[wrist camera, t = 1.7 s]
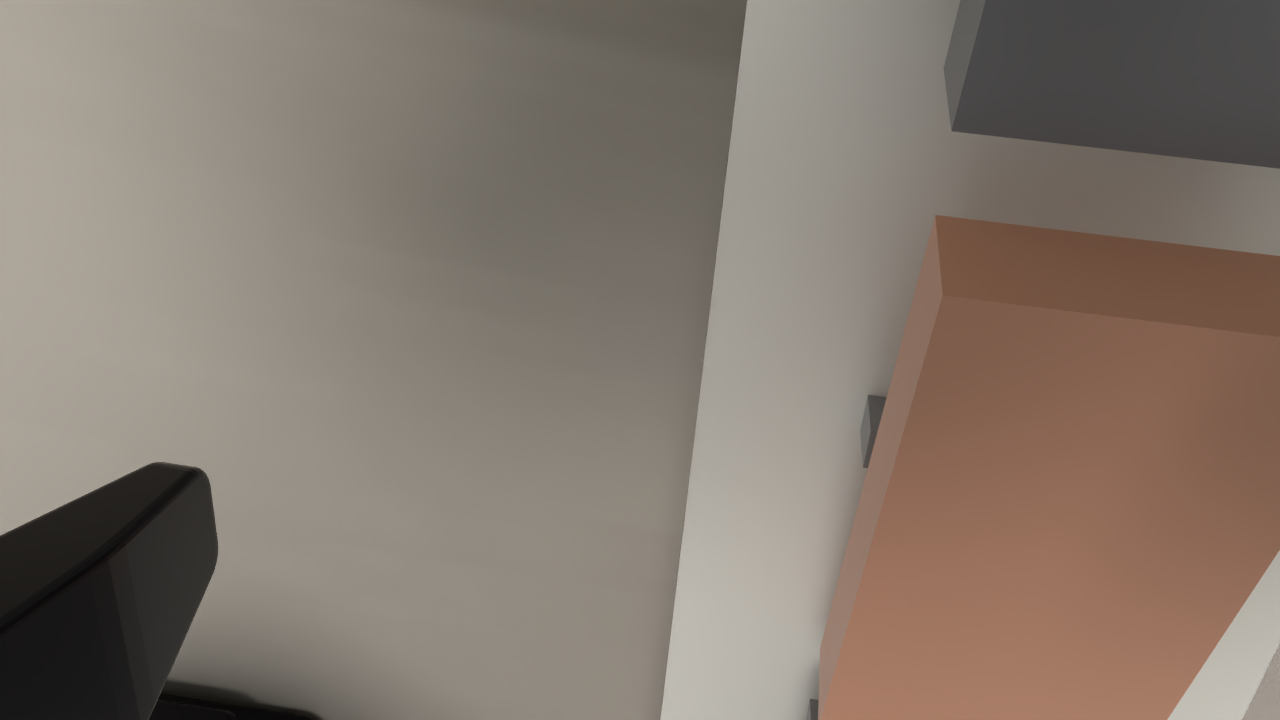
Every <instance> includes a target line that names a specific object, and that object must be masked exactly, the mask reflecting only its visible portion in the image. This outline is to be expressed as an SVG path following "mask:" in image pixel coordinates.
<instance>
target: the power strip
mask: <svg viewBox="0 0 1280 720" xmlns="http://www.w3.org/2000/svg"><path fill="white" fill-rule="evenodd" d="M959 4H960V0H747V7H746V16H745V24H744V32H743V40H742V49H741V57H740V65H739V74H738V82H737V90H736V98H735V107H734V115H733V123H732V132H731V140H730V148H729V156H728V165H727V173H726V181H725V190H724V198H723V206H722V214H721V223H720V231H719V239H718V247H717V256H716V264H715V272H714V281H713V289H712V297H711V305H710V314H709V322H708V330H707V339H706V347H705V355H704V363H703V372H702V380H701V388H700V397H699V405H698V413H697V421H696V430H695V438H694V446H693V455H692V463H691V471H690V479H689V488H688V496H687V504H686V513H685V521H684V529H683V537H682V546H681V554H680V562H679V570H678V579H677V587H676V595H675V604H674V612H673V620H672V628H671V637H670V645H669V653H668V662H667V670H666V678H665V686H664V695H663V703H662V711H661V720H806V717H807V712H808V706H809V701H810V699H816V700H819V665H820V646H821V642H822V638H823V635H824V631H825V627H826V623H827V620H828V616H829V612H830V608H831V605H832V601H833V597H834V593H835V590H836V586H837V582H838V578H839V575H840V571H841V567H842V563H843V560H844V556H845V552H846V548H847V544H848V541H849V537H850V533H851V529H852V526H853V522H854V518H855V514H856V511H857V507H858V503H859V499H860V496H861V492H862V488H863V484H864V481H865V477H866V473H867V469H868V466H869V462H870V458H871V454H872V451H873V447H874V443H875V439H876V435H877V432H878V428H879V424H880V420H881V417H882V413H883V409H884V405H885V402H886V398H887V394H888V390H889V387H890V383H891V379H892V375H893V372H894V368H895V364H896V360H897V357H898V353H899V349H900V345H901V342H902V338H903V334H904V330H905V327H906V323H907V319H908V315H909V311H910V308H911V304H912V300H913V296H914V293H915V289H916V285H917V281H918V278H919V274H920V270H921V266H922V263H923V259H924V255H925V251H926V248H927V244H928V240H929V236H930V233H931V229H932V225H933V221H934V218H935V215H940V216H948V217H956V218H965V219H973V220H982V221H990V222H998V223H1007V224H1015V225H1024V226H1032V227H1040V228H1049V229H1057V230H1065V231H1074V232H1082V233H1091V234H1099V235H1107V236H1116V237H1124V238H1133V239H1141V240H1149V241H1158V242H1166V243H1174V244H1183V245H1191V246H1200V247H1208V248H1216V249H1225V250H1233V251H1242V252H1250V253H1258V254H1267V255H1275V256H1280V169H1278V168H1269V167H1261V166H1252V165H1243V164H1234V163H1226V162H1217V161H1208V160H1199V159H1190V158H1182V157H1173V156H1164V155H1155V154H1147V153H1138V152H1129V151H1120V150H1111V149H1103V148H1094V147H1085V146H1076V145H1068V144H1059V143H1050V142H1041V141H1032V140H1024V139H1015V138H1006V137H997V136H989V135H980V134H971V133H962V132H953V131H951V125H950V117H949V109H948V100H947V92H946V84H945V76H944V65H945V61H946V57H947V52H948V48H949V44H950V40H951V36H952V32H953V28H954V24H955V20H956V16H957V12H958V8H959ZM1279 644H1280V550H1279V552H1278V553H1277V555H1276V556H1275V558H1274V559H1273V561H1272V562H1271V564H1270V566H1269V567H1268V569H1267V570H1266V572H1265V573H1264V575H1263V576H1262V578H1261V579H1260V581H1259V582H1258V584H1257V585H1256V587H1255V588H1254V590H1253V591H1252V593H1251V594H1250V596H1249V597H1248V599H1247V600H1246V602H1245V603H1244V605H1243V606H1242V608H1241V609H1240V611H1239V612H1238V614H1237V615H1236V617H1235V618H1234V620H1233V621H1232V623H1231V624H1230V626H1229V627H1228V629H1227V630H1226V632H1225V633H1224V635H1223V636H1222V638H1221V639H1220V641H1219V642H1218V644H1217V645H1216V647H1215V648H1214V650H1213V651H1212V653H1211V654H1210V656H1209V657H1208V659H1207V661H1206V662H1205V664H1204V665H1203V667H1202V668H1201V670H1200V671H1199V673H1198V674H1197V676H1196V677H1195V679H1194V680H1193V682H1192V683H1191V685H1190V686H1189V688H1188V689H1187V691H1186V692H1185V694H1184V695H1183V697H1182V698H1181V700H1180V701H1179V703H1178V704H1177V706H1176V707H1175V709H1174V710H1173V712H1172V713H1171V715H1170V716H1169V718H1168V719H1167V720H1242V719H1243V717H1244V715H1245V713H1246V711H1247V709H1248V707H1249V705H1250V703H1251V700H1252V698H1253V696H1254V694H1255V692H1256V690H1257V688H1258V686H1259V684H1260V682H1261V680H1262V678H1263V676H1264V674H1265V672H1266V670H1267V668H1268V666H1269V664H1270V662H1271V660H1272V658H1273V656H1274V654H1275V652H1276V650H1277V648H1278V646H1279Z"/></svg>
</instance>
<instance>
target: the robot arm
mask: <svg viewBox="0 0 1280 720" xmlns="http://www.w3.org/2000/svg"><path fill="white" fill-rule="evenodd" d="M217 556H218V540H217V532H216V525H215V517H214V509H213V502H212V494H211V487H210V482H209V479H208V477H207V475H206V473H205V472H204V471H202V470H201V469H199V468H197V467H191V466H185V465H178V464H172V463H165V462H155V463H151V464H149V465H146V466H144V467H142V468H140V469H138V470H136V471H134V472H132V473H130V474H127V475H125V476H123V477H121V478H119V479H117V480H115V481H113V482H111V483H109V484H107V485H105V486H103V487H100V488H98V489H96V490H94V491H92V492H90V493H88V494H86V495H84V496H82V497H80V498H78V499H76V500H73V501H71V502H69V503H67V504H65V505H63V506H61V507H59V508H57V509H55V510H53V511H51V512H49V513H46V514H44V515H42V516H40V517H38V518H36V519H34V520H32V521H30V522H28V523H26V524H24V525H22V526H19V527H17V528H15V529H13V530H11V531H9V532H7V533H5V534H3V535H1V536H0V720H311V719H310V718H306V717H303V716H297V715H291V714H284V713H278V712H271V711H265V710H259V709H252V708H246V707H239V706H233V705H227V704H220V703H214V702H207V701H201V700H195V699H188V698H182V697H175V696H169V695H163V694H161V691H162V689H163V687H164V684H165V682H166V680H167V678H168V675H169V673H170V671H171V669H172V666H173V664H174V662H175V659H176V657H177V655H178V653H179V650H180V648H181V646H182V643H183V641H184V639H185V637H186V634H187V632H188V630H189V627H190V625H191V623H192V621H193V618H194V616H195V614H196V612H197V609H198V607H199V605H200V602H201V600H202V598H203V596H204V593H205V591H206V589H207V586H208V584H209V582H210V580H211V577H212V575H213V572H214V569H215V566H216V562H217Z"/></svg>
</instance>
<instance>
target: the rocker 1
mask: <svg viewBox="0 0 1280 720" xmlns="http://www.w3.org/2000/svg"><path fill="white" fill-rule="evenodd" d="M818 702H819V700H816V699H810V701H809V706H808V712H807V717H806V720H818Z"/></svg>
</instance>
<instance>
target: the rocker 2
mask: <svg viewBox="0 0 1280 720" xmlns="http://www.w3.org/2000/svg"><path fill="white" fill-rule="evenodd" d="M944 76H945V84H946V92H947V100H948V109H949V117H950V125H951V131H953V132H962V133H971V134H980V135H989V136H997V137H1006V138H1015V139H1024V140H1032V141H1041V142H1050V143H1059V144H1068V145H1076V146H1085V147H1094V148H1103V149H1111V150H1120V151H1129V152H1138V153H1147V154H1155V155H1164V156H1173V157H1182V158H1190V159H1199V160H1208V161H1217V162H1226V163H1234V164H1243V165H1252V166H1261V167H1269V168H1278V169H1280V0H960V4H959V8H958V12H957V16H956V20H955V24H954V28H953V32H952V36H951V40H950V44H949V48H948V52H947V57H946V61H945V65H944Z"/></svg>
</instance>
